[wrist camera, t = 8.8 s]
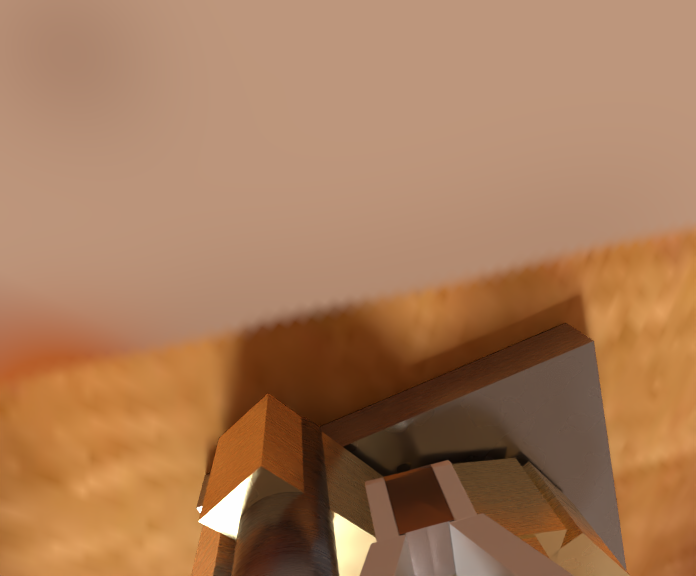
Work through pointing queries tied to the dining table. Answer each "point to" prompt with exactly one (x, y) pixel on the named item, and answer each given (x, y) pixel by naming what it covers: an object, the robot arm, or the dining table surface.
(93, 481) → the dining table surface
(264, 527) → the tan ring with handle
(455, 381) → the grey peg base
